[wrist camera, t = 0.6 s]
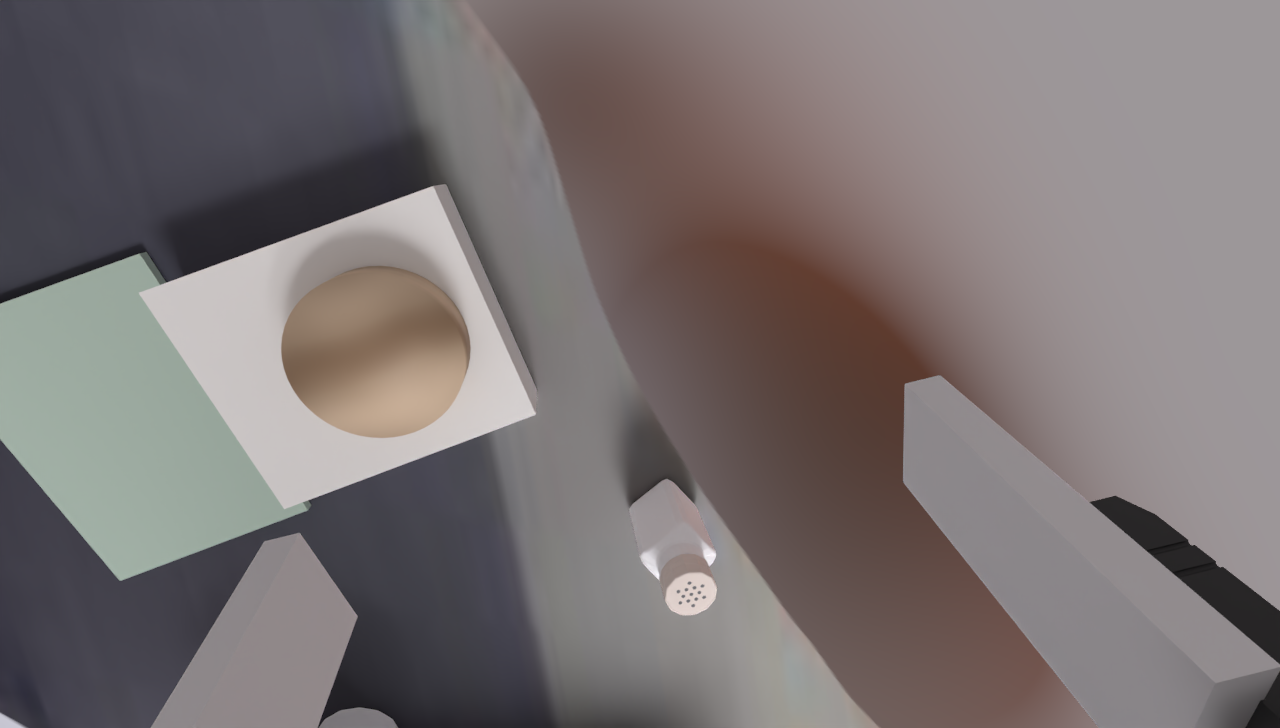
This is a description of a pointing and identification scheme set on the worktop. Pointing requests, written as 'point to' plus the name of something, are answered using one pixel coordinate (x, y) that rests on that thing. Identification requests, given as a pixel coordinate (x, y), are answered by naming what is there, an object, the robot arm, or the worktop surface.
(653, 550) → the pepper shaker
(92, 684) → the worktop surface
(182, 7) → the worktop surface
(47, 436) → the rubber mat
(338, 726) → the foam cup
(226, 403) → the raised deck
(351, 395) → the tan flat disc
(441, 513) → the worktop surface
